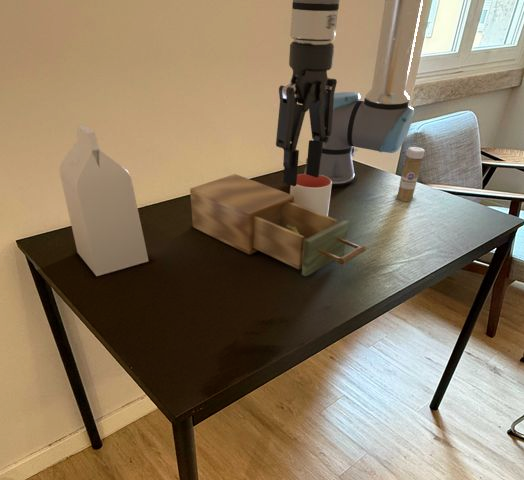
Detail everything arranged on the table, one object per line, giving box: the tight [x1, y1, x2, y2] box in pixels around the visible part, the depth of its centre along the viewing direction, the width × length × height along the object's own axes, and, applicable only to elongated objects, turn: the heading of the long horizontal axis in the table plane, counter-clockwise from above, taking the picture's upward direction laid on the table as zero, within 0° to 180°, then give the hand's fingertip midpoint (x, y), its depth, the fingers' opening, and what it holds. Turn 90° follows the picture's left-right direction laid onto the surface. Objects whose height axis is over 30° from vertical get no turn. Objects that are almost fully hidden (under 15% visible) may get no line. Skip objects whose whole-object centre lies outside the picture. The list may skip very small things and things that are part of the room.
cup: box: [289, 173, 333, 217], centre depth 113 cm, size 10×10×10 cm
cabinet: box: [189, 173, 294, 256], centre depth 107 cm, size 20×15×10 cm
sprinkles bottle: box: [396, 146, 425, 202], centre depth 124 cm, size 5×5×13 cm
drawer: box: [252, 201, 367, 277], centre depth 97 cm, size 25×13×8 cm, turn 47°
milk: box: [59, 124, 150, 277], centre depth 90 cm, size 12×12×26 cm
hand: (301, 179), depth 90 cm, fingers open, 6 cm apart
